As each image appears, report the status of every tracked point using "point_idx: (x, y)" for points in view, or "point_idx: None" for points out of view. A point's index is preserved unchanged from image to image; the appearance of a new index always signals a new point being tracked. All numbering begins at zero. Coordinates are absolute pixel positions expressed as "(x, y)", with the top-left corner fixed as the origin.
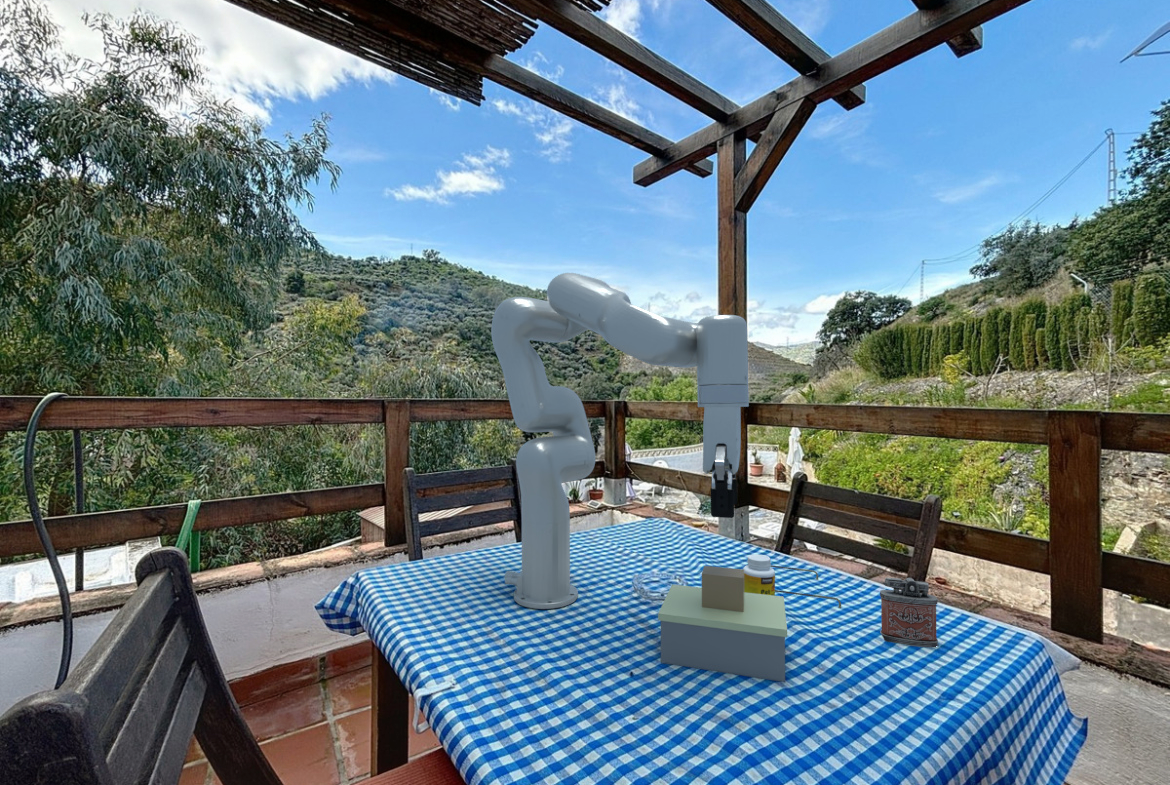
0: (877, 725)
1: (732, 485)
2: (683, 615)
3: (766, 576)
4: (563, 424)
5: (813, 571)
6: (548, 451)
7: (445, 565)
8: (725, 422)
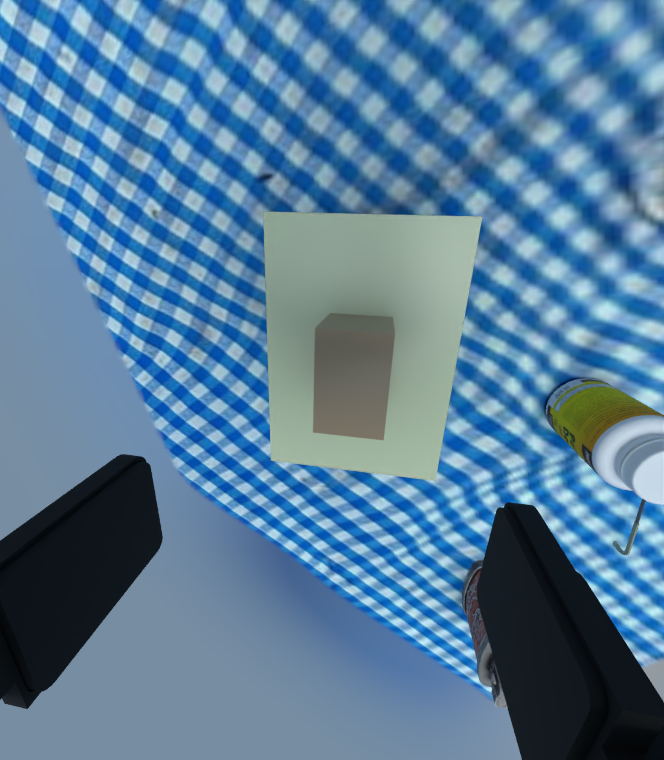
0: (254, 489)
1: (527, 730)
2: (270, 274)
3: (594, 466)
4: None
5: None
6: None
7: None
8: None
